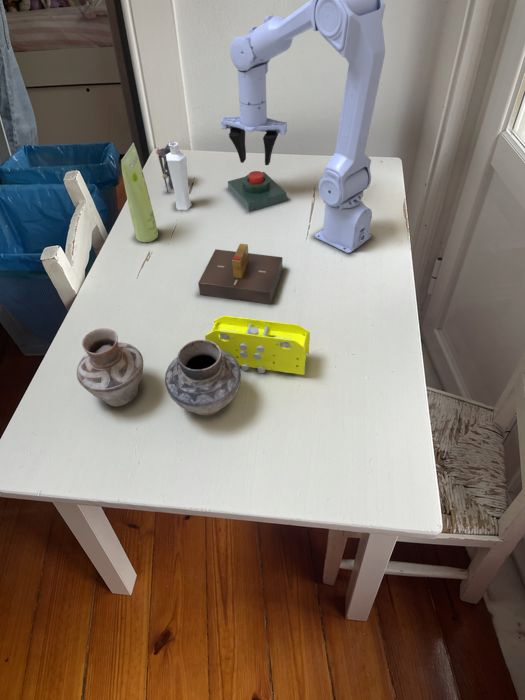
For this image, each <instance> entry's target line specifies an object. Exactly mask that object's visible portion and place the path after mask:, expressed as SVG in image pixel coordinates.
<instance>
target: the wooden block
mask: <svg viewBox="0 0 525 700" xmlns="http://www.w3.org/2000/svg"><path fill="white" fill-rule="evenodd" d="M235 252H236V253H235V255H234V257H233V260H232V265H233V276H234V278H242V276H243V274H244V272H245V269H246V267H247V265H248V262H249V255H248V253H249V244H248V243H239V245H238V247H237V249H236V251H235Z"/></svg>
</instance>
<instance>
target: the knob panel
mask: <svg viewBox="0 0 525 700" xmlns="http://www.w3.org/2000/svg"><path fill="white" fill-rule="evenodd" d="M235 253H236V251H235V250H234V251H232V250H224V249H217V248H215V249H214V251H213V253H212V255H211V257H210V259H209V261H208V263H207V265H206V267H205V269H204V271H203V272H202V275H201V277H200V279H199V280H198V282H197V283H198V289H199V295H200V296H207V297H212V298H213V297H214V298H221V299H228V300H236V301H243V302H250V303H258V304H265V305H271V304H272V301H273V299H274V296H275V293H276V291H277V290H276V289H277V287H278V284H279V280H280V278H281V275H282V272H283V257H282V256H276V255H275V256H274V255H268V254H267V255H266V254H259V253H250V252H248V255H249V262H248V265H247V267H246V269H245V272H244V274H243V276H242V278H234V276H233V265H232V260H233V257H234V255H235Z"/></svg>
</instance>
